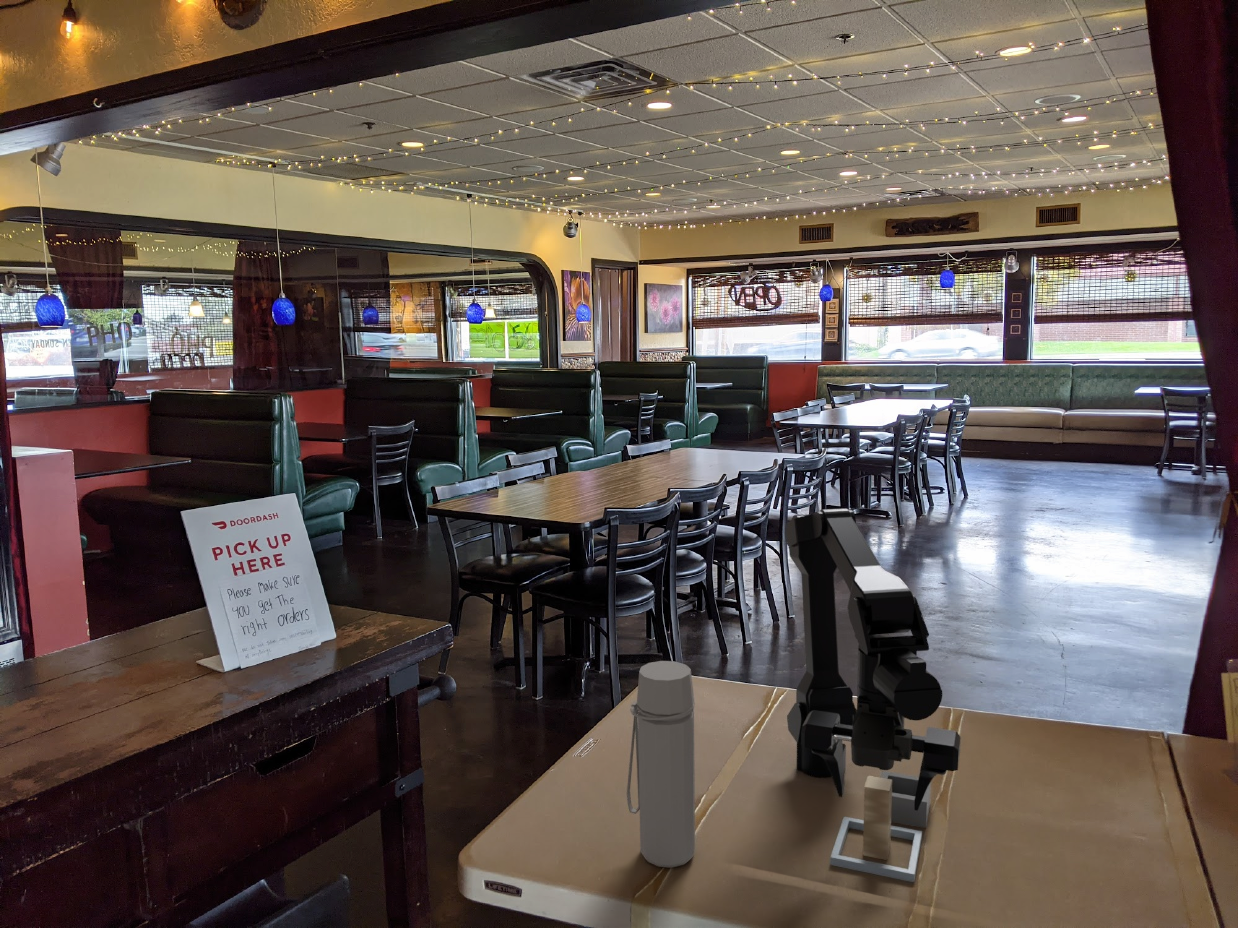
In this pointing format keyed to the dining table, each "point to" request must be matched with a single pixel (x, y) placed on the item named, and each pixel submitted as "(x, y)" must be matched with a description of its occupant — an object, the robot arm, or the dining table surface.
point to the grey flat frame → (872, 866)
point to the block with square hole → (907, 800)
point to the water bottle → (664, 763)
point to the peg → (877, 817)
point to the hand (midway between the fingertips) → (878, 802)
